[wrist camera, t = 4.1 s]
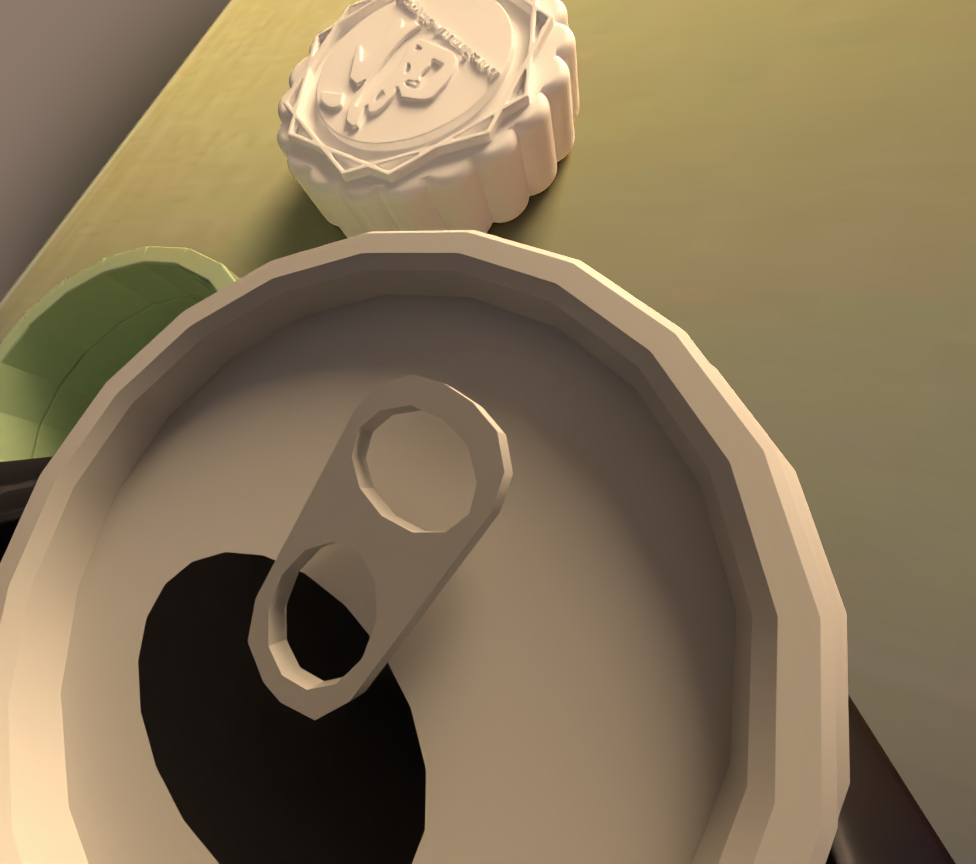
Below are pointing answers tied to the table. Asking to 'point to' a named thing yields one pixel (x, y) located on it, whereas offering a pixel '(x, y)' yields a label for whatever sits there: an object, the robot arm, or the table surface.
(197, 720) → the can
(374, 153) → the mooncake
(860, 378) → the table surface
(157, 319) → the pot
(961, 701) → the table surface
